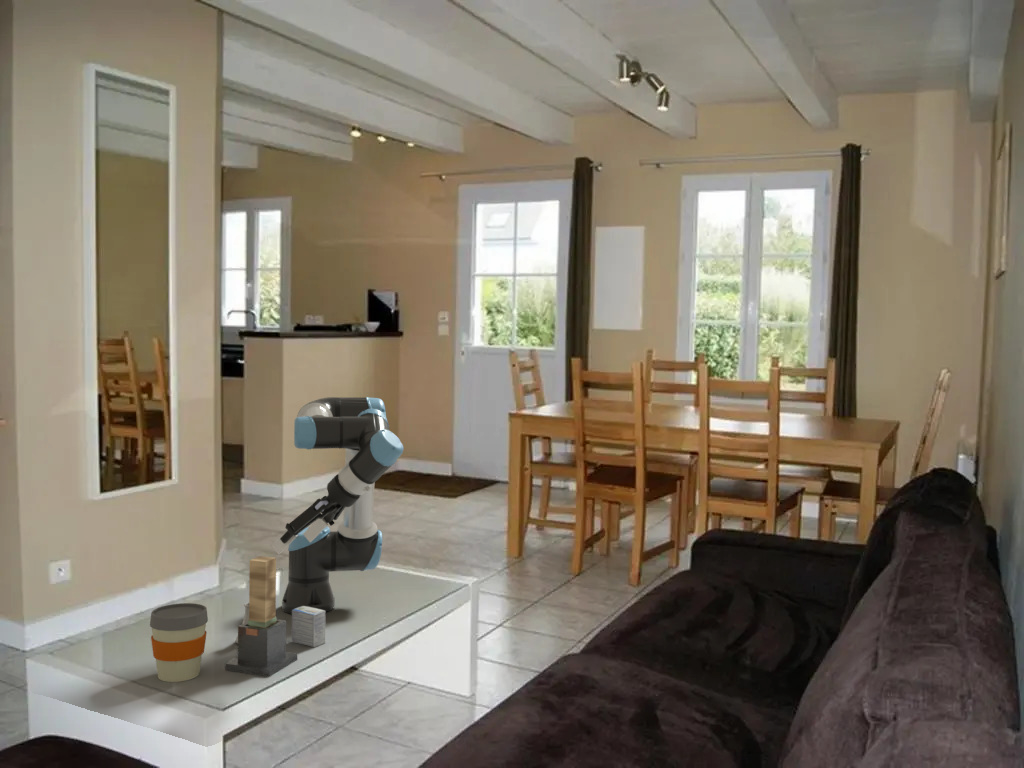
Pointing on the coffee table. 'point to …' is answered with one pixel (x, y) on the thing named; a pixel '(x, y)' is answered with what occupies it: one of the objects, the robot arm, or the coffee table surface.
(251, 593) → the oak block
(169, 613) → the reusable coffee cup
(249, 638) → the metal stand
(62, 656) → the coffee table surface
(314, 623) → the medicine box
